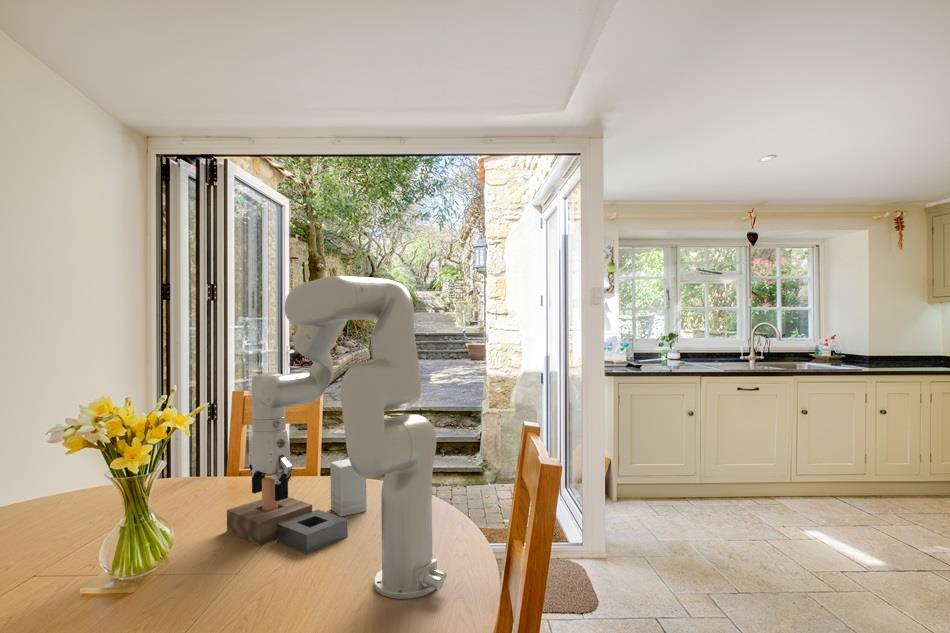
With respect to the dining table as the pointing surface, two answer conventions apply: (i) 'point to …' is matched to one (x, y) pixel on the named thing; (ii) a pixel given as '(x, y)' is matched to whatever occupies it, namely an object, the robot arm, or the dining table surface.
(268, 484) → the pin
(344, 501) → the supplement box
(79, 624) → the dining table surface
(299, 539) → the pin mount
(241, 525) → the socket block
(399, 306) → the robot arm
